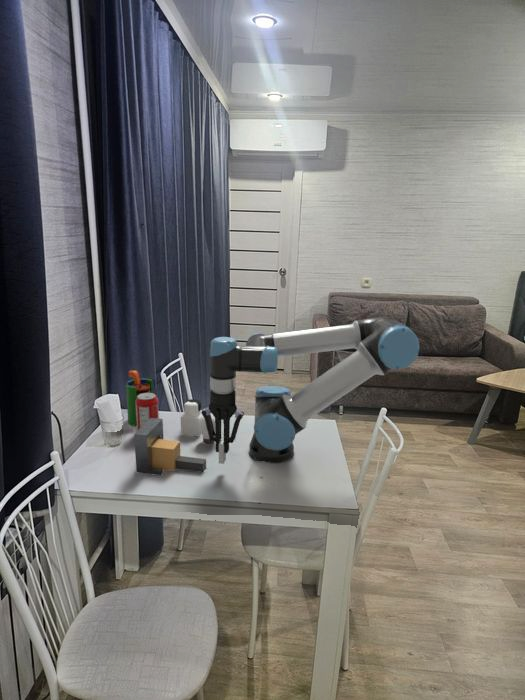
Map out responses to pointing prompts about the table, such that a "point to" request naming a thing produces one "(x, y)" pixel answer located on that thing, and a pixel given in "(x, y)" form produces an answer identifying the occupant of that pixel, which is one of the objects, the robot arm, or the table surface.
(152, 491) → the table surface
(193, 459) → the plug
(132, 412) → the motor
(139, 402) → the soda can
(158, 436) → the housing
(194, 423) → the medicine bottle
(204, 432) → the light bulb
